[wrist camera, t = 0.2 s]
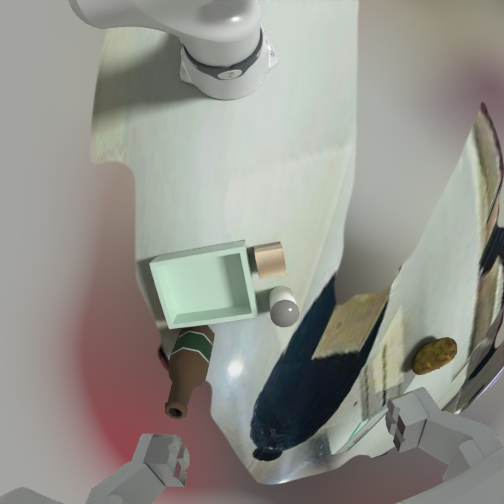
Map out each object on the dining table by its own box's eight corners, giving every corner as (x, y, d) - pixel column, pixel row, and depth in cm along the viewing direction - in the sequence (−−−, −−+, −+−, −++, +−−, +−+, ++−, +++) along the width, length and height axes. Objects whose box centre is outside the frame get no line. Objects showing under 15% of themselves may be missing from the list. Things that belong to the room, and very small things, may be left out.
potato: (405, 351, 64) (418, 369, 56) (444, 325, 62) (460, 339, 54) (410, 370, 65) (423, 388, 58) (447, 346, 64) (462, 361, 56)
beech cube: (254, 245, 56) (254, 252, 52) (279, 241, 56) (282, 248, 51) (258, 270, 58) (259, 279, 53) (283, 265, 57) (286, 274, 53)
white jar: (266, 287, 59) (268, 304, 51) (291, 283, 58) (297, 299, 51) (270, 310, 60) (272, 329, 52) (295, 306, 60) (300, 324, 52)
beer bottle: (191, 313, 60) (161, 387, 37) (222, 332, 61) (208, 411, 38) (174, 338, 62) (143, 413, 39) (204, 355, 63) (186, 434, 40)
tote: (157, 255, 57) (149, 263, 52) (245, 239, 56) (244, 246, 51) (174, 317, 60) (169, 329, 55) (257, 305, 60) (258, 316, 55)
